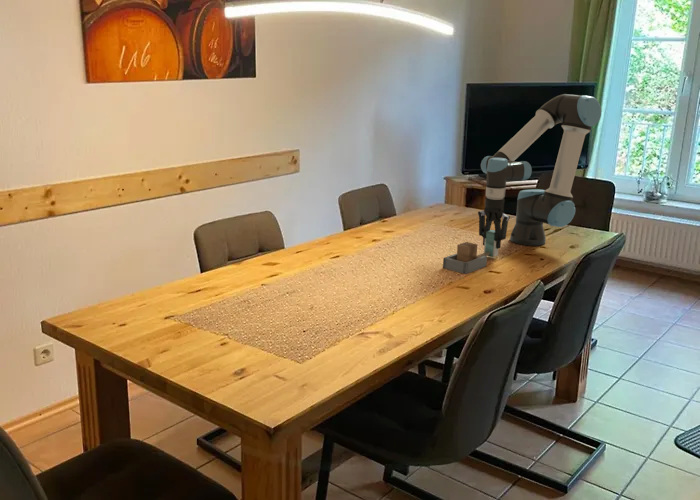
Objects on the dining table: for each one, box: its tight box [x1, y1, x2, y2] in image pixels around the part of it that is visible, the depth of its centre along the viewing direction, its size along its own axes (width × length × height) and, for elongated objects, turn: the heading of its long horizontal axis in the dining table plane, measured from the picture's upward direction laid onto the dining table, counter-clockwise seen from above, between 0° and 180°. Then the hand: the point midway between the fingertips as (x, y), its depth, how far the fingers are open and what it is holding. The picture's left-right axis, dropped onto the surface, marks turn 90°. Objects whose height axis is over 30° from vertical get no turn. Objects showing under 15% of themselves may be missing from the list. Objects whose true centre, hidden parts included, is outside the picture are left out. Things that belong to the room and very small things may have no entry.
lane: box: [442, 253, 488, 275], centre depth 265 cm, size 14×10×4 cm
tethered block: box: [456, 229, 496, 262], centre depth 270 cm, size 22×5×10 cm, turn 137°
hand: (490, 254), depth 278 cm, fingers closed on tethered block, 3 cm apart
